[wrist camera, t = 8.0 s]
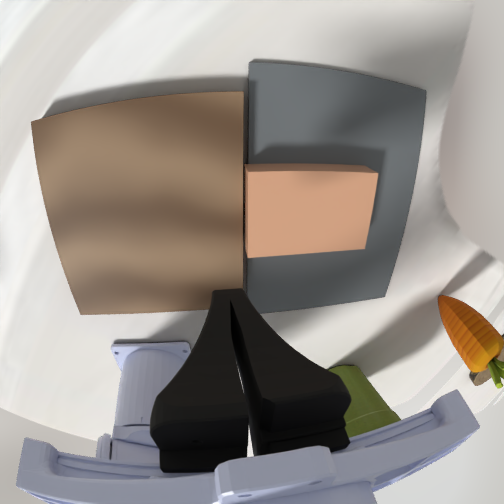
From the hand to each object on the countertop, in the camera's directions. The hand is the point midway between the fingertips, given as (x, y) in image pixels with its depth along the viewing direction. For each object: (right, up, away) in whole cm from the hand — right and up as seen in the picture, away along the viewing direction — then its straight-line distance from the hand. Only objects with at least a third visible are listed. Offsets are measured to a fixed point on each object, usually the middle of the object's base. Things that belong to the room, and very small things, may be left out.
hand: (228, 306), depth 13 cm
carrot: (+24, -3, +17) cm, 29 cm away
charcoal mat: (+8, +6, +9) cm, 13 cm away
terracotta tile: (+5, +6, +8) cm, 11 cm away
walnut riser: (-7, +5, +7) cm, 11 cm away
